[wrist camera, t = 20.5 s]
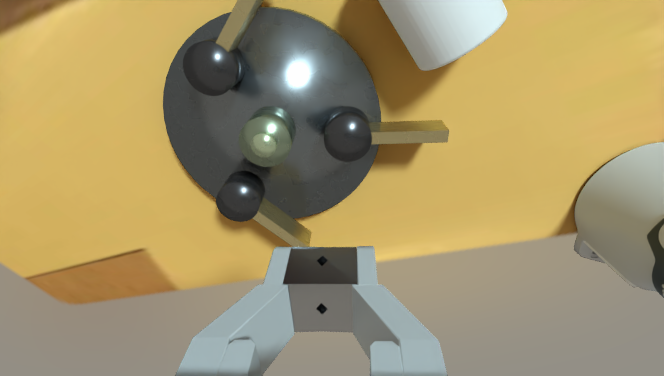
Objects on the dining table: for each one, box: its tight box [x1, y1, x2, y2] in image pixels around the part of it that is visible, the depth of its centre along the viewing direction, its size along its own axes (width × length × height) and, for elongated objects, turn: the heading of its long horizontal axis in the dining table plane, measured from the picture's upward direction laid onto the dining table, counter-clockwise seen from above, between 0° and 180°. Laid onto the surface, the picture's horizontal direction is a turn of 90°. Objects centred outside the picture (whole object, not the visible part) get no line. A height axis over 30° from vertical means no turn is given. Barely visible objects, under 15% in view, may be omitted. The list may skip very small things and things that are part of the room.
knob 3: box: [324, 106, 449, 162], centre depth 34 cm, size 12×5×3 cm, turn 93°
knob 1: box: [183, 0, 264, 96], centre depth 30 cm, size 12×5×3 cm, turn 144°
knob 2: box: [216, 171, 311, 247], centre depth 40 cm, size 12×5×3 cm, turn 48°
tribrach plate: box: [163, 7, 381, 218], centre depth 36 cm, size 23×23×7 cm
